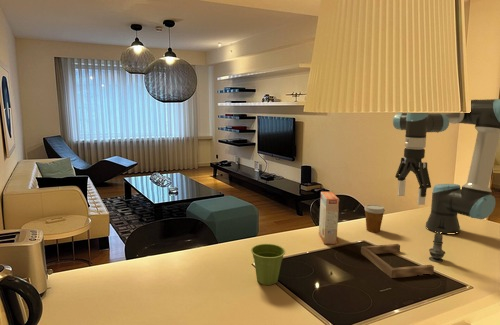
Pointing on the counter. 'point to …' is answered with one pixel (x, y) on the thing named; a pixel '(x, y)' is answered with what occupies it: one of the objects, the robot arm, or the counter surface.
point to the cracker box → (328, 217)
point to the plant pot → (267, 262)
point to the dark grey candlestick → (437, 248)
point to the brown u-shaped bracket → (386, 268)
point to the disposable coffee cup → (374, 217)
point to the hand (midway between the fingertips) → (410, 200)
